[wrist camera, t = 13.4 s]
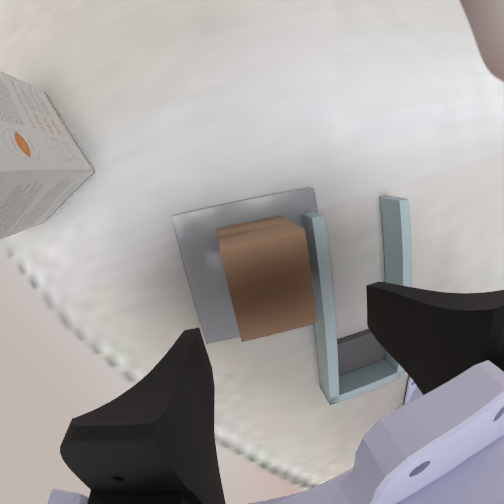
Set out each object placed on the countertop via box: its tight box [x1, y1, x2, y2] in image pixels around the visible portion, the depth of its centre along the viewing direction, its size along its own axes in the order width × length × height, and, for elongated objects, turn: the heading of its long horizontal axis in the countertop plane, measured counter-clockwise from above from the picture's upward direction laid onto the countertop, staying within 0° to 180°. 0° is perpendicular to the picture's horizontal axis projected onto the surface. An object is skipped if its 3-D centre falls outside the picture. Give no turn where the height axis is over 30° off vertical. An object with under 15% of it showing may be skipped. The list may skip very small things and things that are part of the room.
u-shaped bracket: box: [302, 196, 411, 405], centre depth 20 cm, size 15×7×2 cm, turn 11°
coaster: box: [172, 187, 318, 344], centre depth 19 cm, size 9×9×1 cm
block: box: [217, 216, 317, 342], centre depth 16 cm, size 5×4×5 cm
